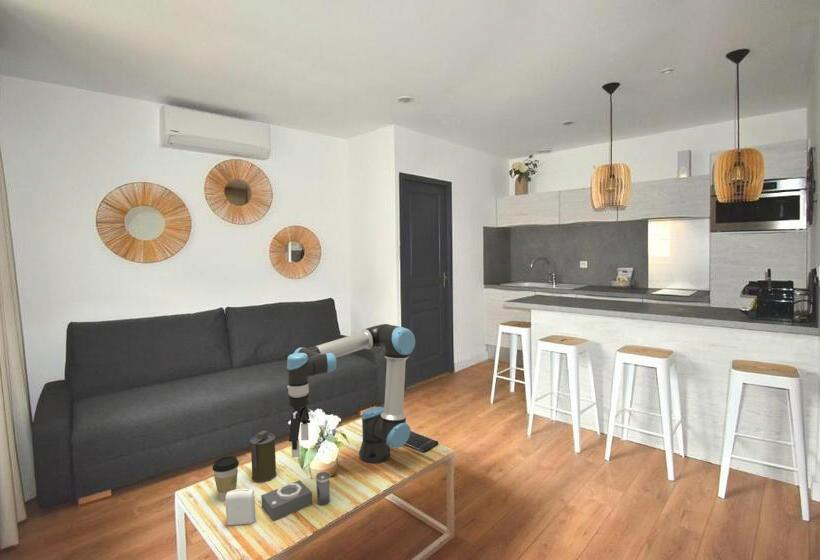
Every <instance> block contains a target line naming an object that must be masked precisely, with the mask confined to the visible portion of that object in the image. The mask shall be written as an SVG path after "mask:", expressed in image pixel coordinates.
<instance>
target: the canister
mask: <svg viewBox="0 0 820 560" xmlns="http://www.w3.org/2000/svg"><path fill="white" fill-rule="evenodd" d="M249 442H250V453H251V454H250V456H251V480H252V481H253V482H254V483H258V484H259V483H268V482H270V481H273V480H274V479H275V478H276V477H277V464H276V463H277V461H276V435H275V434H273V433H269V431H268V430H264V429H263V430H262V431H259V432H258V433H257V434H256V435H254V436H253V437H251V438H250V440H249Z"/></svg>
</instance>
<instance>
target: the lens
mask: <svg viewBox="0 0 820 560" xmlns="http://www.w3.org/2000/svg"><path fill="white" fill-rule="evenodd" d="M315 481H316V504H317V505H318V506H322V507H323V506H326V505H329V504H330V502H331V499H330V498H331V497H330V496H331V495H330V493H331V491H330V473H329V472H327V471H320V472H318V473H316V475H315Z"/></svg>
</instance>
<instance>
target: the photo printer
mask: <svg viewBox="0 0 820 560" xmlns="http://www.w3.org/2000/svg"><path fill="white" fill-rule="evenodd" d="M255 502H256V499H255V491H254V490H253V489H250V488H236V490H232V491H229V492H227V494H226V498H225V501H224V503H225V514H226V515H225V516H226V517H225V518H226V525H227V526H237V525H248V524H253V523H254V522H256V519H257V517H256V515H257V513H256V503H255Z"/></svg>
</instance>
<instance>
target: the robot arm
mask: <svg viewBox="0 0 820 560" xmlns="http://www.w3.org/2000/svg"><path fill="white" fill-rule="evenodd" d="M415 347H416V337H415V335H414V333H413V332H412V331H411V330H410V329H408V328H406V327H404V326H401V325H400V326H398V325H394V324H388V323H382V324H378V325H373V326H370V327H367V328H363V329H362V330H361V331H360V332H358V333H354V334H351V335H347V336H344V337H342V338H337V339H334V340H332V341H329V342H328V341H327V342H324V343H321V344H318V345H314V346H310V347H308V348H307V347H298V348H297V349H295V351H294V352H293V353H291V354H288V356H287V361H286V370H287V384H288V385H287V386H286V389H288V390H287V391H288V405H289V407H291V408H293V410H292V412H291V413H290V427H289V428H290V429H289V438H288V442H290V443H291V458H300V455H301V454H300V453H301V452H300V440H301V441H309V424H311V420H310V415H309V414H310V413H309V410H308V409H309V408H308V405H309V404H310V395H309V393H310V388H309V387H310V386H309V385H310V384H309V378H310V377H314V376H318V375H319V376H320V375H323V374H324V375H325V374H328V373H331V372H333V371H335V370H336V368H337V366H338V365H337V364H338V363H337V358H339V357H343V356H345V355H349V354H352V353H355V352H358V351H361V350H363V349H366V350H371V349H374V348H375V349H382V350H383V356H384V358H385V359H386V368H385V369H386V370H385V371H386V373H385V390H384V406H373V407H369V408H366V409H364V410H363V412H362V413H361V415H362V416H361V423H362V424H361V426H362V428H361V429H362V430H361V431H362V441H361V445H360V449H359V453H358V455H359V456H358V457H359V459H360V461H363V462H365V463H368V464H378V463H383V462H386V461H387V460H389V459H390V457H391V453H392V452H391V448H390V447H392V448H395V449H398V448H401V447H402V446H404V445H405V444H406V443H407V442H408V440H409V438H410V435H411V427H410V425H409V424H408V423H407V421H406V420H407V414H406V413H405V412H404V401H405V399H404V397H405V382H406V361H407V360H408V359H409V358H410V354H411V353H412V352H413V351H414V349H415ZM299 434H300V435H299ZM299 436H300V437H301V439H299ZM388 458H389V459H388ZM385 460H386V461H385Z"/></svg>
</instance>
